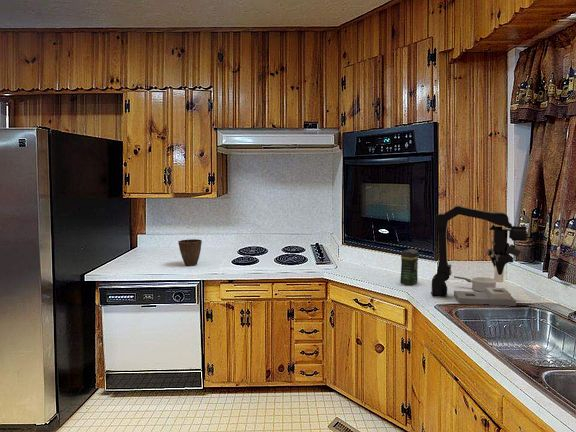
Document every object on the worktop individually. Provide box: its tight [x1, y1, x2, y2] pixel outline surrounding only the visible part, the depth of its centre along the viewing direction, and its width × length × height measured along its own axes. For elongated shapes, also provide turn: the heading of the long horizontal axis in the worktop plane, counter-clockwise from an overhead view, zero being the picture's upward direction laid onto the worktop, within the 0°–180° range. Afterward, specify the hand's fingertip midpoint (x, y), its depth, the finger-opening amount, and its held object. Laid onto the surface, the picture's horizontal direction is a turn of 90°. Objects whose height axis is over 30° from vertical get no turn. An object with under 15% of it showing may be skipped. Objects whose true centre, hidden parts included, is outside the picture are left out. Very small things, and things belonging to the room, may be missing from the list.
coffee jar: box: [399, 248, 419, 286], centre depth 226 cm, size 10×8×19 cm
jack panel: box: [453, 287, 517, 307], centre depth 195 cm, size 24×12×5 cm, turn 79°
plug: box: [493, 266, 505, 283], centre depth 193 cm, size 3×3×8 cm
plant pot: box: [177, 238, 203, 267], centre depth 276 cm, size 15×15×16 cm
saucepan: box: [453, 275, 497, 292], centre depth 215 cm, size 12×20×6 cm, turn 58°
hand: (498, 273), depth 193 cm, fingers closed on plug, 3 cm apart
